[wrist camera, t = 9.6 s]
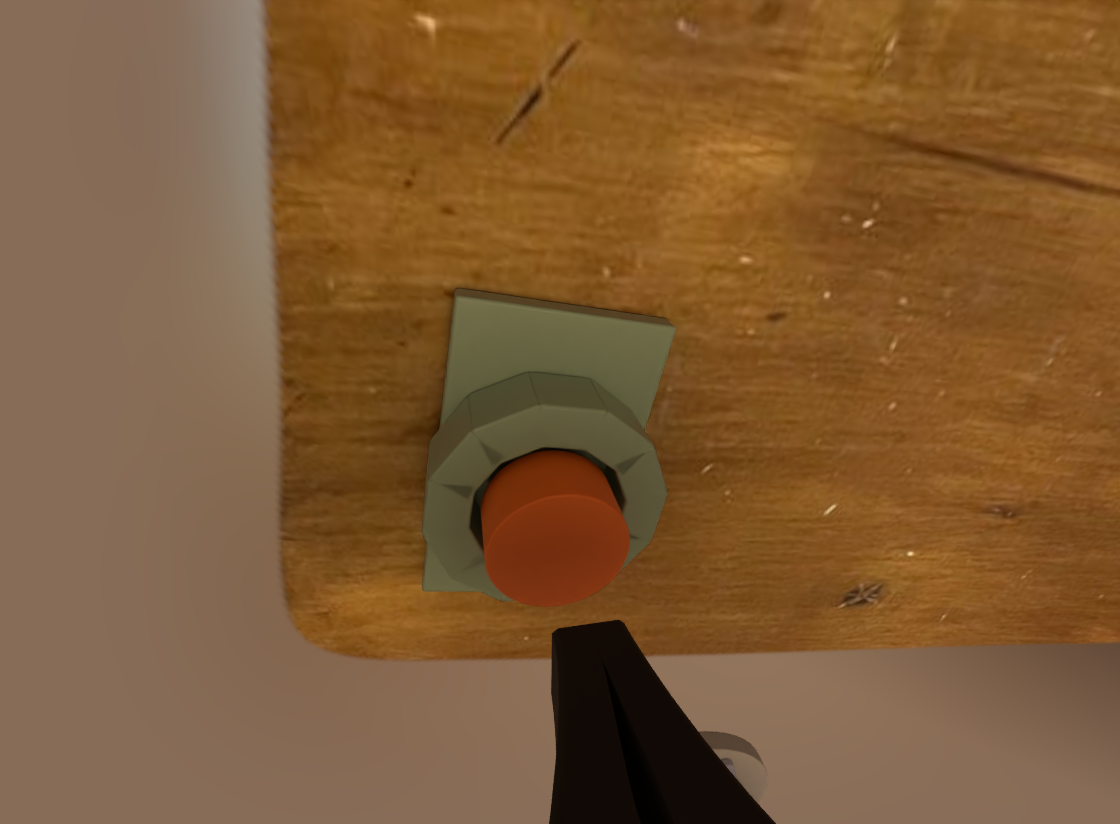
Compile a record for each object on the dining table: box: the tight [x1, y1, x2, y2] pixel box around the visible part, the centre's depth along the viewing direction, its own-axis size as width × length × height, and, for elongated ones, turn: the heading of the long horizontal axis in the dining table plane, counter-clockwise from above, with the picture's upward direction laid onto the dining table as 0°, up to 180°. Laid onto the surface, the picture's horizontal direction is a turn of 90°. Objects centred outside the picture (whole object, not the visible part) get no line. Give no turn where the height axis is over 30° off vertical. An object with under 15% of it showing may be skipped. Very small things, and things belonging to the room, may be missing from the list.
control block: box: [422, 288, 676, 601], centre depth 15 cm, size 10×6×3 cm, turn 168°
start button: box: [481, 450, 630, 607], centre depth 14 cm, size 4×4×2 cm
